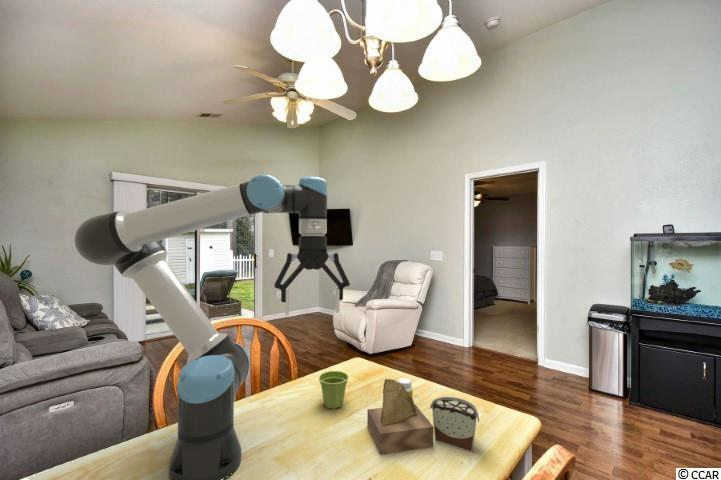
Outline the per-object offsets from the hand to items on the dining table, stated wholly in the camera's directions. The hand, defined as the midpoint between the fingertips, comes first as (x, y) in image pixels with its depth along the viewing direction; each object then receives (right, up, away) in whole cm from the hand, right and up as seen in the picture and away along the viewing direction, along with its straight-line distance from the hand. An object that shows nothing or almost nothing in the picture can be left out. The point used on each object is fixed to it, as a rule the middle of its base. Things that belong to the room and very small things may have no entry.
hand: (312, 313), depth 94 cm
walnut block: (+23, -32, -3) cm, 40 cm away
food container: (+38, -32, -5) cm, 50 cm away
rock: (+23, -27, -3) cm, 36 cm away
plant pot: (+5, -32, +14) cm, 35 cm away
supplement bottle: (+27, -32, +12) cm, 43 cm away
